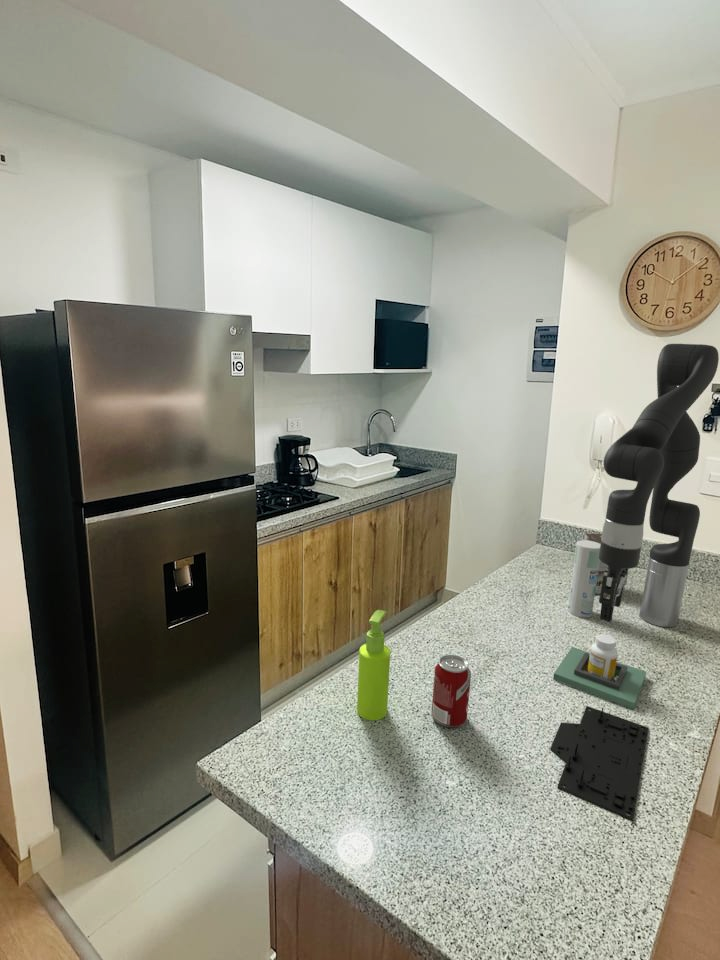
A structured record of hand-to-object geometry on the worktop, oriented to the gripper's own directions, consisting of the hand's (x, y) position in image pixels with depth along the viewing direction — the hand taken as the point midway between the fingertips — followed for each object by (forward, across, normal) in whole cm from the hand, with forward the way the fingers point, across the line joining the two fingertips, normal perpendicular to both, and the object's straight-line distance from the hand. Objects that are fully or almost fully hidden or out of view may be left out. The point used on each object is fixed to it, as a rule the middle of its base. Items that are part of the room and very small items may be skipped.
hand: (610, 612), depth 114 cm
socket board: (+16, 0, 0) cm, 16 cm away
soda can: (+16, -33, +20) cm, 42 cm away
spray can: (+16, +30, +12) cm, 36 cm away
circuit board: (+16, -25, -5) cm, 30 cm away
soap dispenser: (+15, -40, +33) cm, 54 cm away
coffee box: (+17, +50, +13) cm, 54 cm away
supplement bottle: (+16, 0, 0) cm, 16 cm away
